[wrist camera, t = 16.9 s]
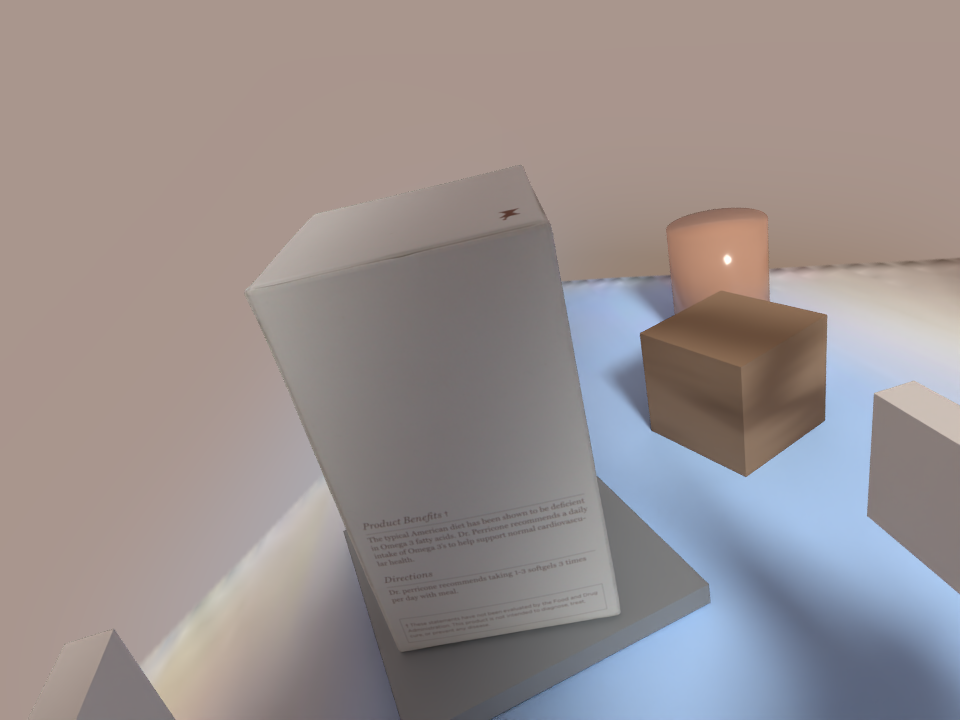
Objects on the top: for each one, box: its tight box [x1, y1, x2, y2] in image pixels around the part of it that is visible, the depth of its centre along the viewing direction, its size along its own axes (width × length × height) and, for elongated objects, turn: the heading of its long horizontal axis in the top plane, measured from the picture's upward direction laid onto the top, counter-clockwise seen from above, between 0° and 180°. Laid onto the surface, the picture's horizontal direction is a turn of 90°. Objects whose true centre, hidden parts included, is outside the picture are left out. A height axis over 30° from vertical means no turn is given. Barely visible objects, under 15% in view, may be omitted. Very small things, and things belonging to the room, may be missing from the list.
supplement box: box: [244, 165, 621, 652], centre depth 20 cm, size 7×7×13 cm
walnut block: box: [640, 291, 827, 477], centre depth 27 cm, size 5×5×5 cm
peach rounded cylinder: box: [666, 208, 770, 314], centre depth 35 cm, size 5×5×6 cm
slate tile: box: [344, 477, 710, 720], centre depth 23 cm, size 10×10×1 cm
